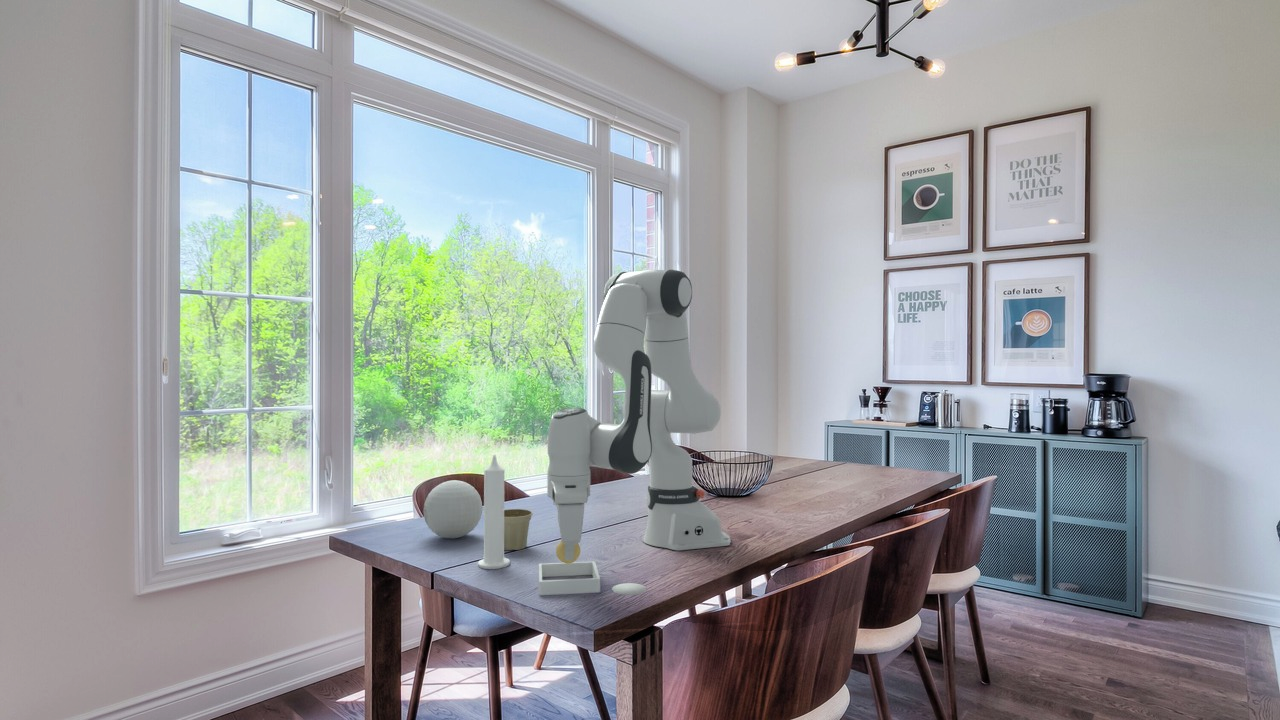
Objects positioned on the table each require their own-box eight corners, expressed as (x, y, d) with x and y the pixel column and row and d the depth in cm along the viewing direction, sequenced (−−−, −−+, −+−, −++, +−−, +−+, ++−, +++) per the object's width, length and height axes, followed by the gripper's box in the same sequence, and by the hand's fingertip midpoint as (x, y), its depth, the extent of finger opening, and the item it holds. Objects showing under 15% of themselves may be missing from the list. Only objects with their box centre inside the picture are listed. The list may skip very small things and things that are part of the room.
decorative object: (443, 529, 185) (444, 474, 185) (492, 532, 181) (492, 477, 181) (411, 542, 170) (411, 484, 170) (463, 547, 166) (463, 487, 166)
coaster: (643, 584, 138) (643, 582, 138) (649, 595, 132) (649, 593, 132) (610, 585, 137) (610, 583, 137) (614, 597, 130) (614, 595, 130)
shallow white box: (594, 575, 144) (594, 561, 144) (600, 593, 132) (600, 578, 132) (538, 577, 142) (538, 563, 142) (539, 597, 131) (539, 581, 131)
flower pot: (524, 553, 161) (524, 517, 161) (487, 551, 162) (488, 516, 163) (538, 543, 170) (538, 509, 170) (503, 541, 172) (503, 508, 172)
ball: (579, 559, 140) (579, 535, 140) (581, 565, 135) (581, 541, 135) (555, 560, 139) (555, 536, 139) (556, 567, 134) (556, 542, 134)
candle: (480, 560, 155) (481, 452, 155) (511, 559, 156) (511, 452, 156) (475, 569, 148) (476, 457, 148) (507, 569, 148) (508, 456, 149)
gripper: (551, 479, 147) (551, 542, 147) (555, 496, 127) (554, 569, 127) (580, 479, 148) (579, 541, 148) (588, 496, 128) (587, 568, 128)
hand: (568, 554), depth 137 cm, fingers closed on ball, 5 cm apart
